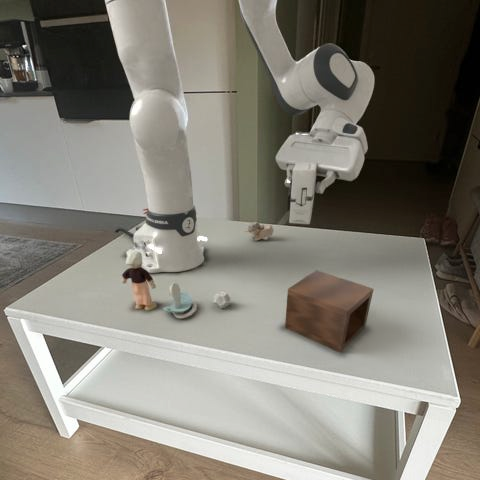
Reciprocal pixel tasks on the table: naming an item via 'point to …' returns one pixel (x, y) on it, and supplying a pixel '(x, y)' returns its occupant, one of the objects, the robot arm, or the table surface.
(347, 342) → the shelf
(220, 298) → the game die
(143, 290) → the grandmother figurine
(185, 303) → the pacifier
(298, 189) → the ink box
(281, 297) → the table surface
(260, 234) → the toy character
